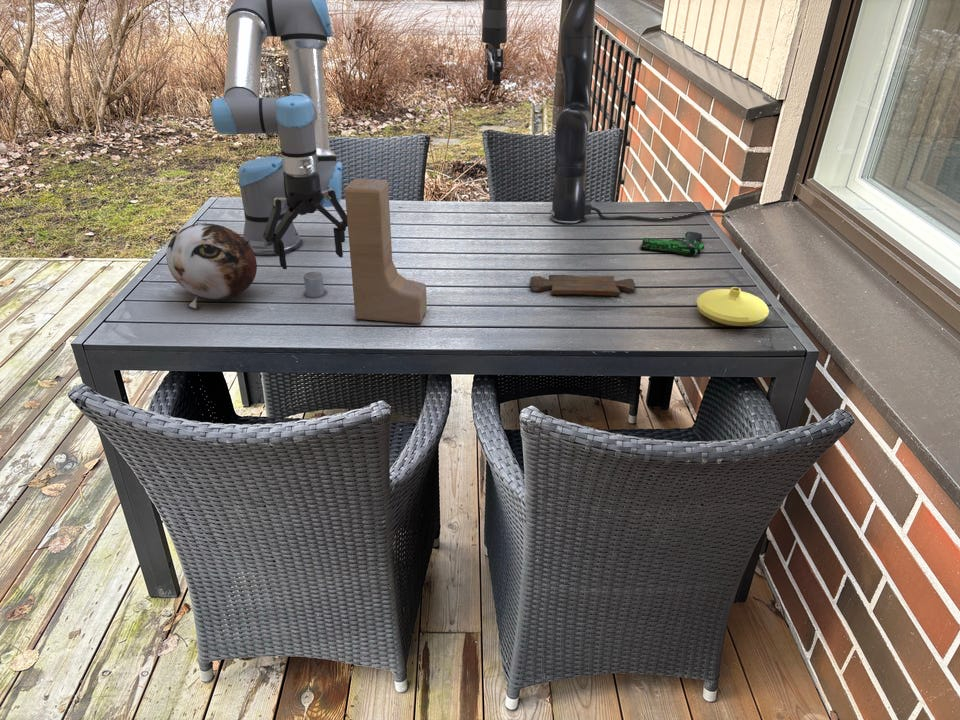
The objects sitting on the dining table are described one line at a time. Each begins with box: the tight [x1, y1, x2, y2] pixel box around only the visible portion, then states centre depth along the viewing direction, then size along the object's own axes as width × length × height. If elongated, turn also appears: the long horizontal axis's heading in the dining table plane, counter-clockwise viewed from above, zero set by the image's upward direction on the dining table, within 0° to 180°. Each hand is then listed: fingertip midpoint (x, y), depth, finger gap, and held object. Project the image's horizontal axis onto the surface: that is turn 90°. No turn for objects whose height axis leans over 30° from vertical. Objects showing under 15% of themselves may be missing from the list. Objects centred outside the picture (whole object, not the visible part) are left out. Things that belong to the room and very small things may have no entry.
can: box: [303, 271, 325, 298], centre depth 170 cm, size 4×4×5 cm
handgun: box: [640, 231, 705, 257], centre depth 200 cm, size 16×3×15 cm
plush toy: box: [165, 222, 258, 309], centre depth 165 cm, size 22×18×20 cm
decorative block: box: [344, 177, 428, 324], centre depth 154 cm, size 8×15×30 cm, turn 82°
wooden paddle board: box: [529, 274, 635, 297], centre depth 175 cm, size 26×2×10 cm
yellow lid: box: [696, 286, 770, 327], centre depth 161 cm, size 16×16×7 cm
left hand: (312, 261), depth 168 cm, fingers open, 13 cm apart
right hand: (493, 82), depth 222 cm, fingers open, 8 cm apart
